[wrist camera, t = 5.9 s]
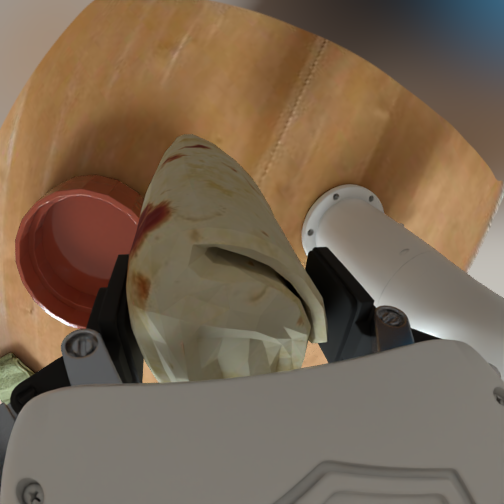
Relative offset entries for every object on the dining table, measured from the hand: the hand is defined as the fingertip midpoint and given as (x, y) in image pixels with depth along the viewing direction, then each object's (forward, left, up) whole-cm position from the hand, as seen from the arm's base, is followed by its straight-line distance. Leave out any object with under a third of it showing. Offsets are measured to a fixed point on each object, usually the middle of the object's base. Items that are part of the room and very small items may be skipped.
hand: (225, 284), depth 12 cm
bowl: (+12, +9, -23) cm, 27 cm away
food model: (0, 0, -15) cm, 15 cm away
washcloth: (+38, +37, -23) cm, 58 cm away
